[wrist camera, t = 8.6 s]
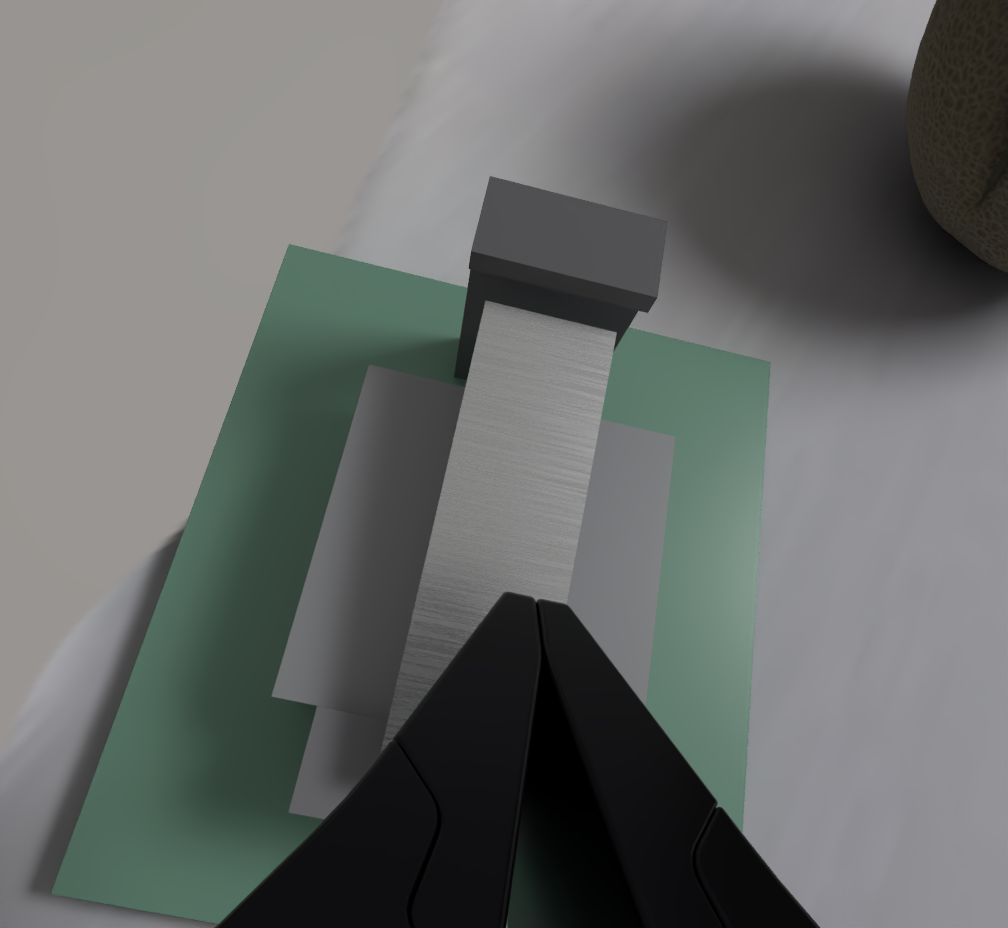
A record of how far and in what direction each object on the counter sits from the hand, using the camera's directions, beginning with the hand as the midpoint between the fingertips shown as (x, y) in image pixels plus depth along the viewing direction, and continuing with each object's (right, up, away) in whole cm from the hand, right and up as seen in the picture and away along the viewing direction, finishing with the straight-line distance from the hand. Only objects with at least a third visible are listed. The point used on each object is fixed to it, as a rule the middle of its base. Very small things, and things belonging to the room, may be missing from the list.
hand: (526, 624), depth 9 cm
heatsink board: (-1, -1, +11) cm, 11 cm away
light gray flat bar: (-1, -4, +4) cm, 6 cm away
